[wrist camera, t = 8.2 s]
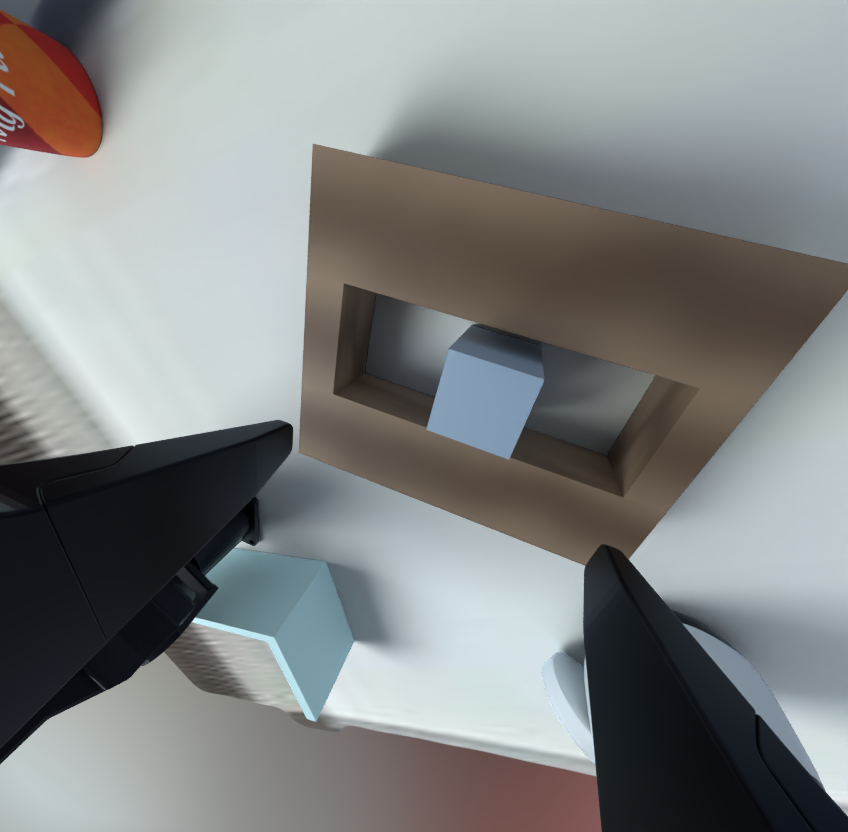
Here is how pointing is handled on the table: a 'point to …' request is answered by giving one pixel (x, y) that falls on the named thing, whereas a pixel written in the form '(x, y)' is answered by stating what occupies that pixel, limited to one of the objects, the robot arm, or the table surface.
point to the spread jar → (570, 677)
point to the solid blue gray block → (487, 390)
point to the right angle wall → (284, 617)
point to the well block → (547, 322)
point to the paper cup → (45, 94)
